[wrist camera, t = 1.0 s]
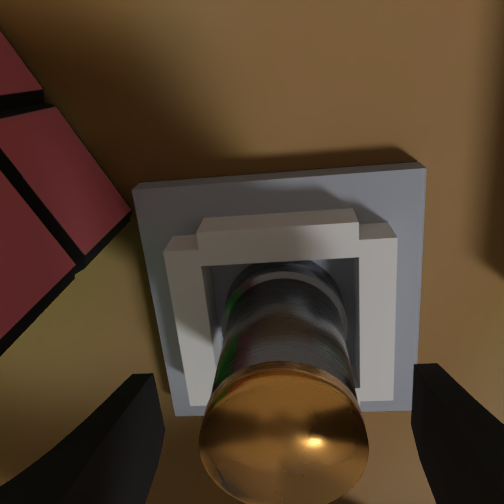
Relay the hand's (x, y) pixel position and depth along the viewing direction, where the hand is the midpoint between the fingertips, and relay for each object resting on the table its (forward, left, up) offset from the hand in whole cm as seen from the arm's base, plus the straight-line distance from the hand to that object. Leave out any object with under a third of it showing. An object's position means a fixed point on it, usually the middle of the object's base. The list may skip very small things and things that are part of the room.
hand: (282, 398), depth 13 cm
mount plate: (0, 0, -6) cm, 6 cm away
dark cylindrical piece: (0, 0, -5) cm, 5 cm away
